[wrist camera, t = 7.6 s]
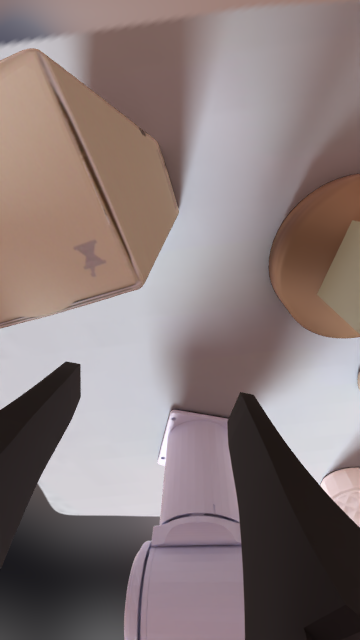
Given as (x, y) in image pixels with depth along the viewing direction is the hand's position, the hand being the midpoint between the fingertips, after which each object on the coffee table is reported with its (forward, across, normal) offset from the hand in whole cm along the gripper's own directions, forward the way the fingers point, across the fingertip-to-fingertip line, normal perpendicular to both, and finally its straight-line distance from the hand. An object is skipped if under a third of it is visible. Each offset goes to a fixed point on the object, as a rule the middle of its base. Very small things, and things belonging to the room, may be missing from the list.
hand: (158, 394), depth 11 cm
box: (+10, +4, -7) cm, 13 cm away
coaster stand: (+10, -11, -6) cm, 16 cm away
